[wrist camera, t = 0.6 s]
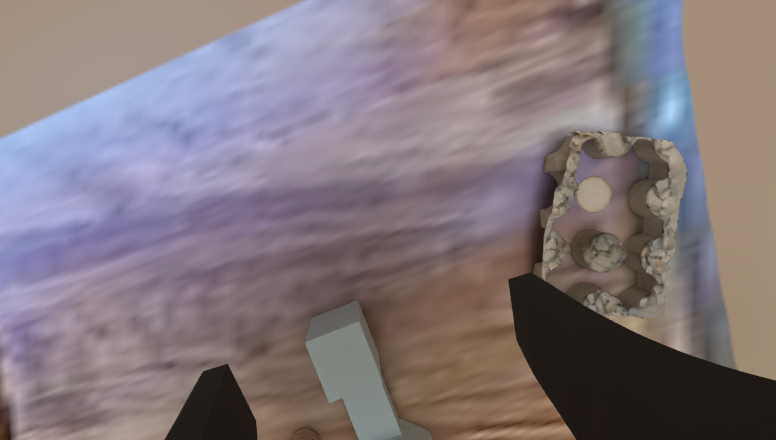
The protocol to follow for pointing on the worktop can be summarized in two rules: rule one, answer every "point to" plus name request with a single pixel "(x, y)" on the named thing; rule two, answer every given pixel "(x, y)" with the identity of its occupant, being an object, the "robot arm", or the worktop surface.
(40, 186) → the worktop surface
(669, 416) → the robot arm
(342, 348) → the link
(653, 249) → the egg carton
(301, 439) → the pintle
